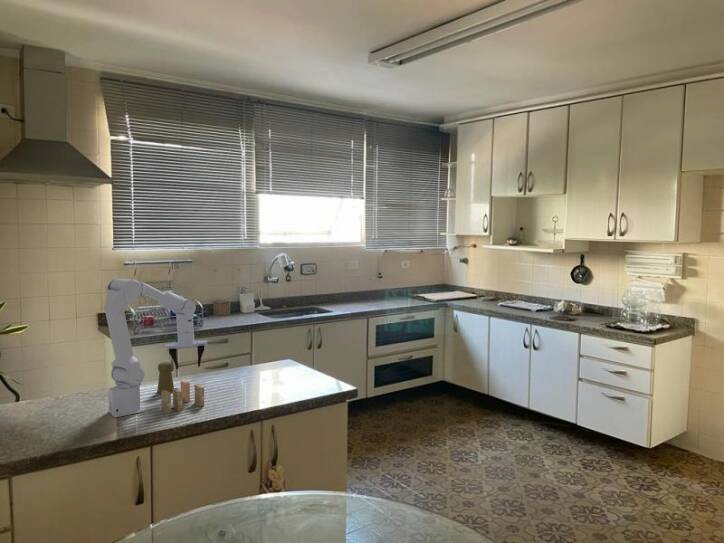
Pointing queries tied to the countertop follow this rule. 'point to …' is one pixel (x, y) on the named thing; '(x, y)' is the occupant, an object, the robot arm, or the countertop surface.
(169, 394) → the domino
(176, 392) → the middle domino
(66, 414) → the countertop surface
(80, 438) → the countertop surface
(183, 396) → the domino
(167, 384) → the cork
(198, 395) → the end domino
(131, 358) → the robot arm
